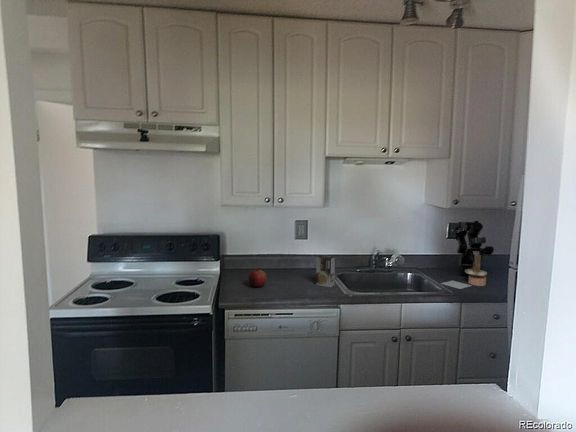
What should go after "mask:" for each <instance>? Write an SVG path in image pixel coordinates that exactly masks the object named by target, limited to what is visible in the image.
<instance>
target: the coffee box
mask: <svg viewBox="0 0 576 432" xmlns="http://www.w3.org/2000/svg"><path fill="white" fill-rule="evenodd" d="M315 266H316V271H315V285H316V286H318V287H319V286H320V287H324V288H325V287H326V288H332V287H333V286H335V285H336V256H331V255H330V256H329V255H325V254H320V255H318V256H317V257H316V265H315Z"/></svg>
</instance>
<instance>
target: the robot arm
mask: <svg viewBox="0 0 576 432" xmlns="http://www.w3.org/2000/svg"><path fill="white" fill-rule="evenodd" d="M457 224H458V225H457ZM457 224H456V225H457V227H456V229H455V231H456V230H458V229H464V231H462V232H459V233H455V234H456V239H455V240H456V241H457V243H458V247H457V250H456V251H457V254H460V257H459V259H458V262H457V265H458V266H459V273H458V274H457V275H458V276H461V277H465V278H469V275H471V274H467V273H465V270H466V269H473V262H475V258H474V254H475V253H474V252H478V254H480V255H481V261H480V264H481V263H482V260H483V257H484V256H491V255H493V254H494V250H495V248H494V246H492V245H485V247H484V248H483V247H482V245H483V244H485V243H486V242H487V239H486V238H487V237H485V236H482V237H479V235H480V234H481V232H482V230H483V227H484V226H483V224H482V223H481V222H479V220H474V221H458V222H457ZM466 236H467V240H468V241H467V240H466ZM467 242H468V243H467Z"/></svg>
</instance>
